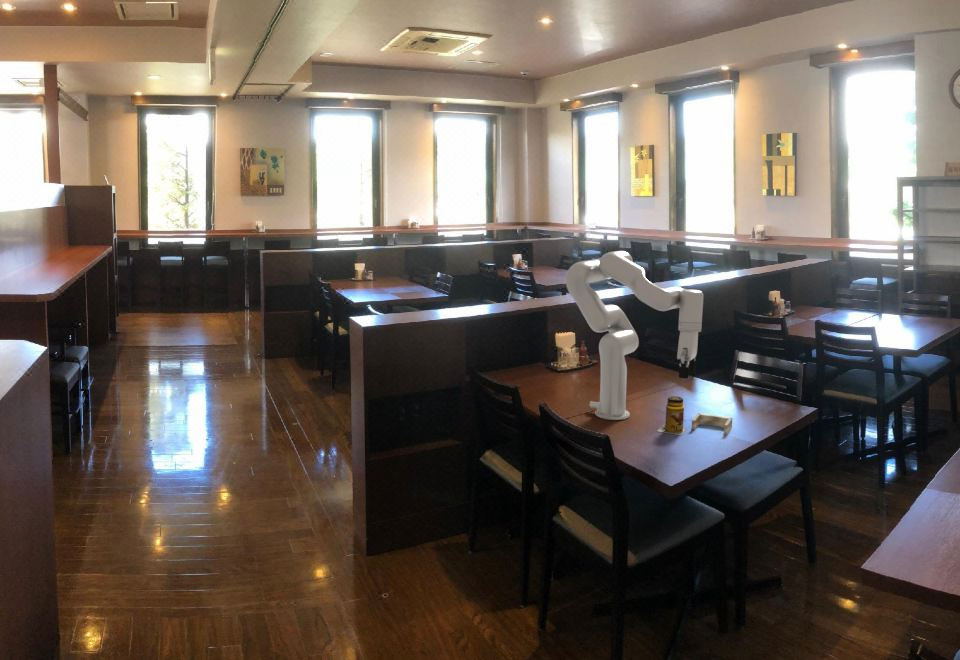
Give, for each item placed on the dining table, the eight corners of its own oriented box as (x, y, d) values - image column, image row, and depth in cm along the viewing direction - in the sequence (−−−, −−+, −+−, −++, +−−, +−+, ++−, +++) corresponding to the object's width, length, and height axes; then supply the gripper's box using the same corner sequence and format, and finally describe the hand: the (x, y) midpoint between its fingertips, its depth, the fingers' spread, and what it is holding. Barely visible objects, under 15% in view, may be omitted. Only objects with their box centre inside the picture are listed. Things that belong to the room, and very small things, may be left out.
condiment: (680, 435, 261) (682, 402, 259) (656, 431, 266) (658, 398, 263) (686, 429, 268) (688, 396, 265) (662, 425, 272) (664, 393, 269)
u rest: (691, 429, 267) (692, 420, 267) (697, 422, 275) (697, 413, 274) (726, 434, 262) (727, 425, 261) (731, 427, 269) (732, 418, 269)
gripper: (684, 320, 268) (681, 367, 271) (672, 329, 253) (669, 379, 256) (706, 322, 264) (702, 370, 268) (695, 331, 249) (692, 382, 253)
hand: (686, 374), depth 262 cm, fingers open, 9 cm apart
